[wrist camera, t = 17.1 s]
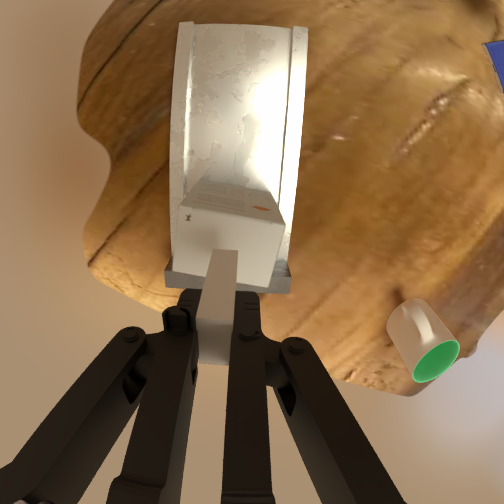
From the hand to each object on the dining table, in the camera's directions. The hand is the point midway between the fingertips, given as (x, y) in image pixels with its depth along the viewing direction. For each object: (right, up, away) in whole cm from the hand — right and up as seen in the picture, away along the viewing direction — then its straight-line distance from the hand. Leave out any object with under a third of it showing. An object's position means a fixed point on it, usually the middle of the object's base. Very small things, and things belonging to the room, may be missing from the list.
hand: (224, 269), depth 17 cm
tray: (0, +12, +12) cm, 17 cm away
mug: (+25, -8, +22) cm, 35 cm away
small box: (-1, +6, +13) cm, 15 cm away
